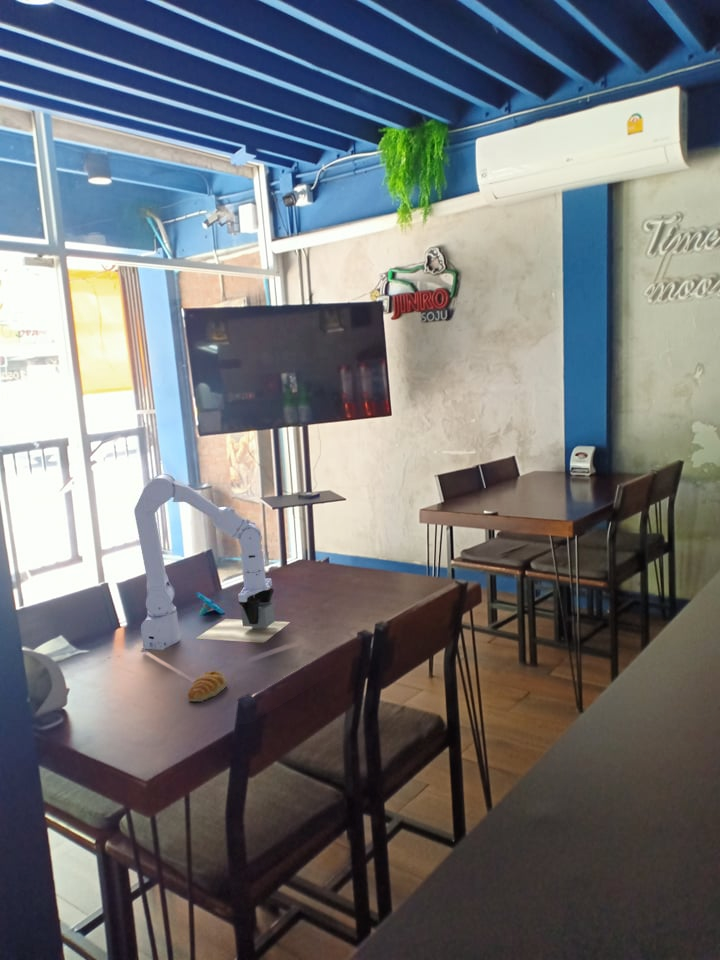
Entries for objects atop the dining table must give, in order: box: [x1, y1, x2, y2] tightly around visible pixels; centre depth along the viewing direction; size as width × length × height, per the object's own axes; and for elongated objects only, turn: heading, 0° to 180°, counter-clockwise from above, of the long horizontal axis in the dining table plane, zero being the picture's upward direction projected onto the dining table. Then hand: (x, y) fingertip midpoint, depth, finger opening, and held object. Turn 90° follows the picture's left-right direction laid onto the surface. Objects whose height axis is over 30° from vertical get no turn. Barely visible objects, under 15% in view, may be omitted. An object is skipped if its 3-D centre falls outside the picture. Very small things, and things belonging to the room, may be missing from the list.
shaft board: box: [195, 618, 291, 644], centre depth 194 cm, size 15×20×1 cm
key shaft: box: [252, 627, 267, 630], centre depth 194 cm, size 2×4×4 cm, turn 69°
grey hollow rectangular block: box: [240, 601, 276, 627], centre depth 193 cm, size 5×7×5 cm
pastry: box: [187, 670, 228, 702], centre depth 158 cm, size 9×7×4 cm
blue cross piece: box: [195, 591, 226, 617], centre depth 211 cm, size 11×6×10 cm
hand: (258, 620), depth 194 cm, fingers closed on grey hollow rectangular block, 5 cm apart
